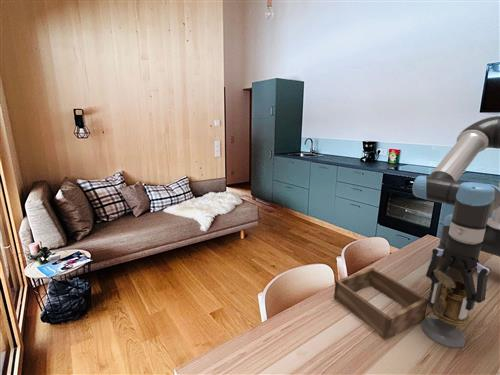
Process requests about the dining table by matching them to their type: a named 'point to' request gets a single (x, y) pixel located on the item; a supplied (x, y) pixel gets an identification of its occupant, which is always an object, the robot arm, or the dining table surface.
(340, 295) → the wooden frame
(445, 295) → the wooden mug
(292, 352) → the dining table surface
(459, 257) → the robot arm
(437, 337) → the coaster
